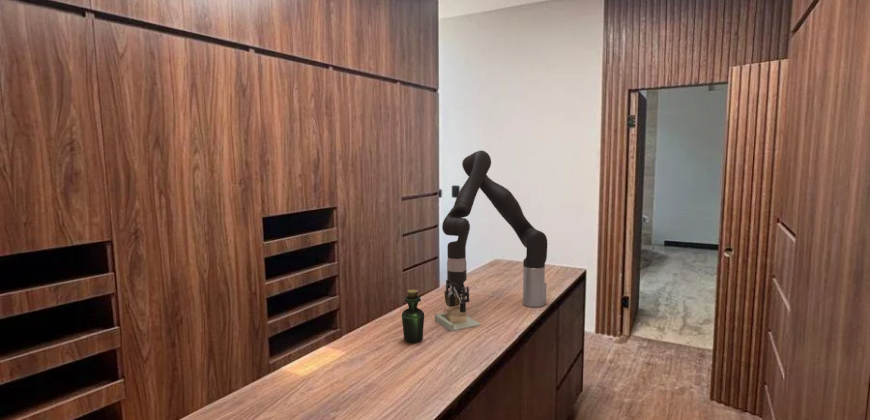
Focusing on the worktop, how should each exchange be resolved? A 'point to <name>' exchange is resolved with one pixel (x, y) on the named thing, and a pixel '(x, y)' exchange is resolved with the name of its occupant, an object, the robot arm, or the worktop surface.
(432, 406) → the worktop surface
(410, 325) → the potion bottle
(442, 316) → the corner tray
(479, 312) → the worktop surface
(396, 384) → the worktop surface
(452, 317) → the maple brick
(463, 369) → the worktop surface
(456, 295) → the cup
